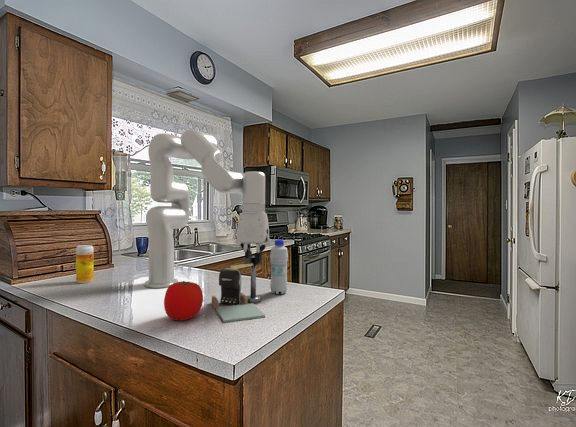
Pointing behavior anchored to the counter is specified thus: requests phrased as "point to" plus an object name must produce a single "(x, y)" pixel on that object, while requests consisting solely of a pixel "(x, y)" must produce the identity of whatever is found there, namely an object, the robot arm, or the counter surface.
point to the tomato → (183, 300)
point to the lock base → (254, 299)
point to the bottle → (279, 267)
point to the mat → (239, 312)
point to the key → (251, 262)
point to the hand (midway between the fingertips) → (253, 263)
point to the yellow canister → (84, 264)
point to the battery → (230, 286)
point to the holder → (216, 302)
